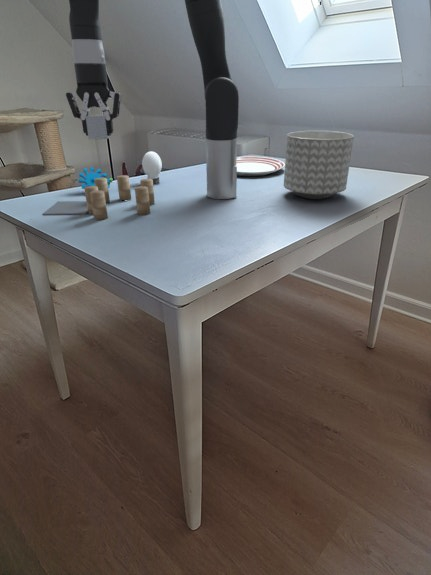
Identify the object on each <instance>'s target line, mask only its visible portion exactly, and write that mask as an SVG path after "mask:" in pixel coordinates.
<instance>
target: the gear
mask: <svg viewBox="0 0 431 575" xmlns="http://www.w3.org/2000/svg"><path fill="white" fill-rule="evenodd" d="M89 170H90V172H88V171H89ZM89 170H88V168H86V167H85V168H83V172H82V171H81V172H80V173H78V176H79V177H78V183H80V184H81V185H80V187H81V189H82V190H83V189H84V188H85V187H88V186H95V181H94V179H96V178H107V177H108V174H107V173H106V172H103V173H102V169H100V168H97V170H96V171H95V167H92V166H90V168H89ZM94 171H95V172H94ZM84 173H85V175H84ZM113 180H114V179H113V178H112V177H110V178H107V184H108V189H110V186H111V183H113Z"/></svg>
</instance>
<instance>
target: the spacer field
mask: <svg viewBox="0 0 431 575" xmlns="http://www.w3.org/2000/svg"><path fill="white" fill-rule="evenodd" d="M107 179H108V178H107V177H106V178H105V177H102V178H96V179H94V181H95V186H88V187H85V188H84V190H83V191H84V195H85V201H87V207H88V213H87V214H89V215H93V218H94V220H96V221H103V220H106V219H108V218H109V216H108V209H107V204H109V203H111V200H110V192H109V188H108V184H107ZM116 180H117V181H116V182H117V190H118V198H119V201H120V200H124V201H123V202H126V201H125V200H129V201H131V200H132V193H131V192H132V191H131V185H130V184H131V182H130V176H129V175H127V174H124V175H117V176H116ZM139 181H140V186H135V187H134V194H135V204H136V212H137V215H139V216H147V215H149V214H151V206H153V205H155V204H156V203H155V192H154V191H155V190H154V185H153V180H152V179H148V178H142V179H140V180H139ZM108 202H109V203H108ZM106 203H107V204H106Z"/></svg>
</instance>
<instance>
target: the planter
mask: <svg viewBox="0 0 431 575" xmlns="http://www.w3.org/2000/svg"><path fill="white" fill-rule="evenodd" d="M354 137H355V136H354V134H352V133H348V132H342V131H334V130H333V131H332V130H300V131H293V132H289V133H287V134H286V145H285V146H286V148H285V160H284V163H285V167H284V176H283V187H284V188H285V189H287V190H289V191H292V193H293V194H295V195H297V196H299V197H301V198H303V199H308V200H323V199H326V198H330V197H332V196H334V195H335V194H338V193H339V194H340V193H342V192H344V191H346V189H347V185H348V178H349V177H348V176H349V173H350V172H349V171H350V166H351V164H350V163H351V157H352V151H353V143H354Z"/></svg>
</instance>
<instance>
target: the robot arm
mask: <svg viewBox="0 0 431 575" xmlns="http://www.w3.org/2000/svg"><path fill="white" fill-rule="evenodd" d="M68 3H69V15H68V19H69V30H70V35H71V43H72V44H71V46H72V47H71V51H72V61H73V67H74V72H75V80H76V85H77V86H76V89H75V90H74V91H72V92H71V91H70V92H69V91H67V92H66V93H65V97H66V99H67V102H68V104H69V105H68V106H69V108H70V109H71V113H72V115H73V117H74V119H75V118H76V119H79V120H80V121H81V123H82V124H81V126H82V131H83V134H85V135H86V137H87V136H88V130H87V123H86V116H88V115H90V111H91V108H93V107H96V108H100V110H101V112H102V113H103V114H102V115H104V116H105V118H106V127H107V135H108V136H110V137H111V136H112V134H113V133H114V124H113V120H114V119H117V118H118V117H119V116H120V109H121V101H122V93H120V92H115V91H111V89H110V87H109V84H108V83H109V82H108V74H107V65H106V54H105V49H104V45H103V38H102V36H103V35H102V29H101V22H100V0H68ZM184 5H185V8H186V13H187V19H188V22H189V27H190V31H191V34H192V35H191V36H192V37H193V41H194V44H195V47H196V52H197V54H198V57H199V62H200V66H201V72H202V80H203V91H204V92H203V93H204V101H205V157H206V160H205V161H206V196H207V198H210V199H214V200H228V199H229V200H230V199H233V198H234V199H236V198H237V186H238V184H237V183H238V182H237V181H238V180H237V176H238V175H237V166H236V157H238V156H237V155H238V154H237V151H238V150H237V147H238V145H237V144H238V143H237V139H238V128H239V108H240V107H239V98H240V97H239V89H238V87H237V85H236V84H235V82H234V81H232V80H233V79H232V77H231V73H230V69H229V64H228V60H227V55H226V54H227V52H226V32H225V31H226V30H225V19H224V10H223V5H222V0H184ZM109 97H111V101H112V102H113V106H112V113H111V110H110V107H109V105H108V100H109ZM78 98H79V99H80V101H81V102H82V105H81V112H80V109H79V105H78V102H77V100H78Z"/></svg>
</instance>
